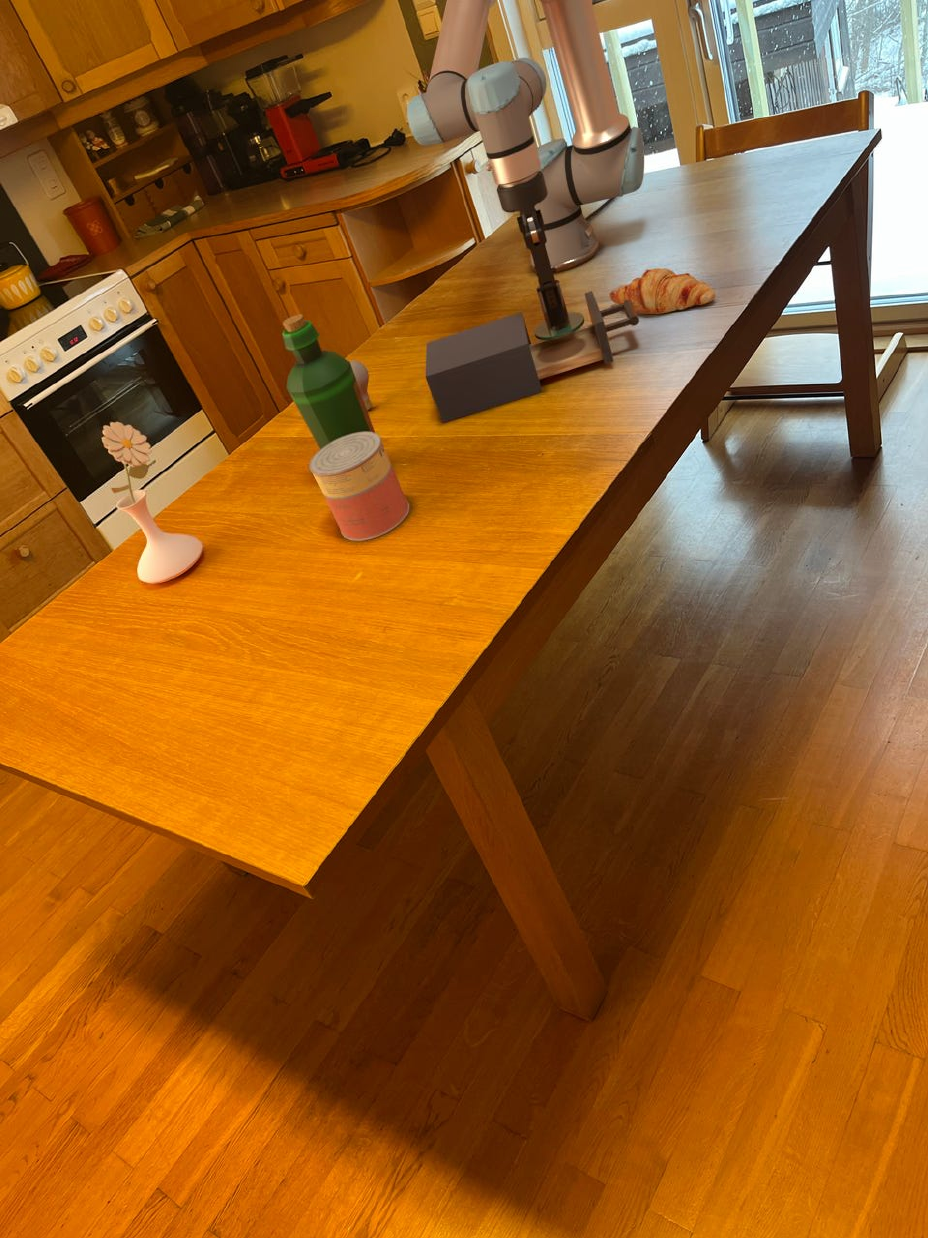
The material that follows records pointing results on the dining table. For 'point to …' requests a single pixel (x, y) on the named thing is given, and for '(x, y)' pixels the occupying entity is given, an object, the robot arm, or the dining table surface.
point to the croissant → (663, 292)
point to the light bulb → (362, 381)
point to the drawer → (581, 341)
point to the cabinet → (481, 368)
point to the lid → (562, 330)
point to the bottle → (323, 386)
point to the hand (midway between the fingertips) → (557, 318)
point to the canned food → (360, 486)
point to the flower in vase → (163, 550)
